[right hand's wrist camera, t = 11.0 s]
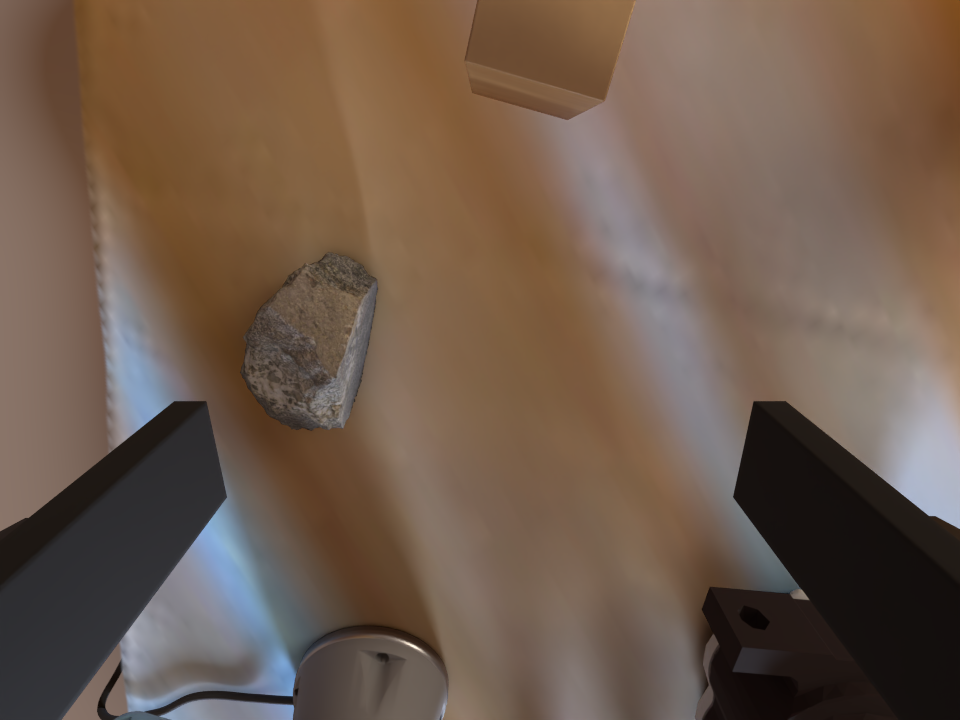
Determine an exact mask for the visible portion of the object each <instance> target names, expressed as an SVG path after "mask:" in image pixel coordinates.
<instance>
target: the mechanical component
mask: <svg viewBox="0 0 960 720" xmlns="http://www.w3.org/2000/svg"><path fill="white" fill-rule="evenodd" d="M702 611H703V613H704V615H705V617H706V619H707V621H708V623H709V625H710V627H711V629H712V631H713V633H714V634H713V635H712V637H711V638H710V640H709V641H708V643H707V644H706V648H705V653H704V659H703V666H704V669H705V673H706V676H707V680H708V683H709V686H708V687H707V689H706V691H705V692H704V694H703V695H702V697H701V699H700V700H699V702H698V706H697V710H696V715H695V719H696V720H898V718H897V717H896V716H895V714H894V713H893V712H892V710H891V709H890V708H889V706H888V705H887V704H886V702H885V701H884V700H883V698H882V697H881V696H880V694H879V693H878V691H877V690H876V689H875V687H874V686H873V685H872V683H871V682H870V681H869V679H868V678H867V677H866V675H865V674H864V673H863V671H862V670H861V669H860V667H859V666H858V665H857V663H856V662H855V661H854V659H853V658H852V657H851V655H850V654H849V652H848V651H847V650H846V648H845V647H844V646H843V644H842V643H841V642H840V640H839V639H838V638H837V636H836V635H835V634H834V632H833V631H832V630H831V628H830V627H829V626H828V624H827V623H826V622H825V620H824V619H823V617H822V616H821V615H820V613H819V612H818V611H817V609H816V608H815V607H814V605H813V604H812V603H811V601H810V600H809V599H808V597H807V596H806V595H805V593H804V592H803V591H802V590H800V589H797V590H794V591H791V593H790V594H784V593H773V592H762V591H751V590H740V589H729V588H718V587H710V588H709V591H708V594H707V596H706V599H705V602H704V605H703V608H702Z"/></svg>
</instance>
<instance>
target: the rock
mask: <svg viewBox="0 0 960 720" xmlns="http://www.w3.org/2000/svg"><path fill="white" fill-rule="evenodd" d="M377 290H378V288H377V280H376V278H374V277H372V276H370V275H368V274H367V272H366V271H365V269H364V267H363V266H362V265H361V264H359V263H357V262H355V261H353V260H352V259H351V258H349V257H347V256H338V254H333V253H330V252H328V253H327V254H325V256H324V257H323V258H322V260H320V261H319V262H316V263H314V264H311V265H308V264H307V263H305V264H304V265H303V267H302V268H299V269H298V270H297V271H294V272H293V273H292V274H291V275H289V276H288V278H287V280H286V281H285V283H284V285H283V287H282V288H280V289H279V290H278V291H277V293H276V294H274V295H273V296H272V297H271V298H270V299H269V300H268V301H267V302H266V303H264V304H263V305H262V306H261V307H260V309H259V310H258V312H257V314H256V317H255V320H254V323H253V324H252V325H251V326H250V328H249V329H248V331H247V332H246V334H245V335H244V337H243V338H244V340H245V341H246V343H247V344H246V345H247V346H246V349H245V358H244V363H243V365H242V367H241V372H240V373H241V374H242V378H244V379H245V382H246V384H247V387H248V389H249V390H250V391H251V392H252V394H253V395H254V397H255V398H256V400H257V401H258V402H259V403H260V404H261V405H262V407H263V408H264V409H265V411H266V413H267V414H268V415H269V416H270V417H272V418H274V419H276V420H279V421H280V422H281V424H283V425H284V424H285V425H288V426H289V427H291V429H296V430H298V429H301V428H305V429H308V430H310V431H312V430H313V429H314V428H318V427H321V428H323V429H327V430H329V429H331V428H342V429H343V428H344V425H345V422H346V420H347V419H348V418H349V416H350V411H351V408H352V405H353V402H355V399H354V398H355V396H357V392H358V388H359V386H360V383H361V381H362V380H361V377H362V374H363V373H362V371H363V367H364V362H365V356H366V354H367V348H368V345H369V344H368V343H369V338H370V332H371V328H372V320H373V316H374V314H373V313H374V310H375V304H376V303H375V302H376V294H377ZM335 377H336V379H335Z"/></svg>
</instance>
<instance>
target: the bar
mask: <svg viewBox="0 0 960 720" xmlns="http://www.w3.org/2000/svg"><path fill="white" fill-rule="evenodd" d="M635 2H636V0H478V1H477V5H476V10H475V14H474V19H473V24H472V28H471V33H470V38H469V42H468V47H467V52H466V56H465V64H466V68H467V72H468V77H469V81H470V85H471V89H472V93H475V94H478V95H482V96H485V97H489V98H492V99H496V100H499V101H503V102H506V103H510V104H513V105H517V106H520V107H524V108H527V109H531V110H534V111H538V112H541V113H545V114H548V115H552V116H555V117H559V118H562V119H566V120H569V119H571V118H573V117H575V116H577V115H579V114H581V113H583V112H585V111H587V110H589V109H591V108H593V107H595V106H597V105H598V104H600V103H602V102H604V101H605V99H606V95H607V92H608V89H609V86H610V83H611V79H612V76H613V73H614V70H615V66H616V63H617V60H618V57H619V53H620V50H621V47H622V44H623V40H624V37H625V34H626V31H627V28H628V24H629V21H630V18H631V15H632V11H633V8H634V5H635Z"/></svg>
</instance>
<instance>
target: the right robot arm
mask: <svg viewBox="0 0 960 720" xmlns="http://www.w3.org/2000/svg"><path fill="white" fill-rule="evenodd" d="M226 498H227V496H226V491H225V486H224V482H223V477H222V472H221V468H220V463H219V458H218V454H217V449H216V444H215V440H214V435H213V430H212V426H211V421H210V416H209V412H208V407H207V402H206V401H174V402H173V403H172V404H170V405H169V406H168V407H167V408H165V409H164V410H163V411H162V412H160V413H159V414H158V415H157V416H155V417H154V418H153V419H152V420H150V421H149V422H148V423H147V424H145V425H144V426H143V427H142V428H140V429H139V430H138V431H137V432H135V433H134V434H133V435H132V436H130V437H129V438H128V439H127V440H125V441H124V442H123V443H122V444H120V445H119V446H118V447H117V448H115V449H114V450H113V451H112V452H110V453H109V454H108V455H107V456H106V457H104V458H103V459H102V460H101V461H99V462H98V463H97V464H96V465H94V466H93V467H92V468H91V469H89V470H88V471H87V472H86V473H84V474H83V475H82V476H81V477H79V478H78V479H77V480H76V481H74V482H73V483H72V484H71V485H69V486H68V487H67V488H66V489H64V490H63V491H62V492H61V493H59V494H58V495H57V496H56V497H54V498H53V499H52V500H51V501H49V502H48V503H47V504H46V505H44V506H43V507H42V508H41V509H39V510H38V511H37V512H36V513H34V514H33V515H32V516H31V517H29V518H25V519H23V520H21V521H19V522H17V523H15V524H13V525H11V526H10V527H8V528H6V529H4V530H2V531H0V720H62V718H63V717H64V716H65V714H66V713H67V712H68V710H69V709H70V708H71V706H72V705H73V704H74V702H75V701H76V700H77V698H78V697H79V696H80V694H81V693H82V691H83V690H84V689H85V687H86V686H87V685H88V683H89V682H90V681H91V679H92V678H93V677H94V675H95V674H96V673H97V671H98V670H99V669H100V667H101V666H102V664H103V663H104V662H105V661H106V659H107V658H108V657H109V655H110V654H111V652H112V651H113V650H114V648H115V647H116V646H117V644H118V643H119V642H120V640H121V639H122V638H123V636H124V635H125V634H126V632H127V631H128V630H129V628H130V627H131V626H132V624H133V623H134V622H135V620H136V619H137V617H138V616H139V615H140V613H141V612H142V611H143V609H144V608H145V607H146V605H147V604H148V603H149V601H150V600H151V599H152V597H153V596H154V595H155V593H156V592H157V591H158V589H159V588H160V587H161V585H162V584H163V582H164V581H165V580H166V578H167V577H168V576H169V574H170V573H171V572H172V570H173V569H174V568H175V566H176V565H177V564H178V562H179V561H180V560H181V558H182V557H183V556H184V554H185V553H186V552H187V550H188V549H189V547H190V546H191V545H192V543H193V542H194V541H195V539H196V538H197V537H198V535H199V534H200V533H201V531H202V530H203V529H204V527H205V526H206V525H207V523H208V522H209V521H210V519H211V518H212V517H213V515H214V514H215V513H216V511H217V510H218V508H219V507H220V506H221V504H222V503H223V502H224V500H225V499H226ZM733 498H734V499H735V500H736V502H737V503H738V504H739V506H740V507H741V508H742V510H743V511H744V513H745V514H746V515H747V517H748V518H749V519H750V521H751V522H752V523H753V525H754V526H755V527H756V529H757V530H758V531H759V533H760V534H761V535H762V537H763V538H764V539H765V541H766V542H767V543H768V545H769V546H770V548H771V549H772V550H773V552H774V553H775V554H776V556H777V557H778V558H779V560H780V561H781V562H782V564H783V565H784V566H785V568H786V569H787V570H788V572H789V573H790V574H791V576H792V577H793V578H794V580H795V581H796V582H797V584H798V585H799V587H800V588H801V589H802V591H803V592H804V593H805V595H806V596H807V597H808V599H809V600H810V601H811V603H812V604H813V605H814V607H815V608H816V609H817V611H818V612H819V613H820V615H821V616H822V617H823V619H824V620H825V622H826V623H827V624H828V626H829V627H830V628H831V630H832V631H833V632H834V634H835V635H836V636H837V638H838V639H839V640H840V642H841V643H842V644H843V646H844V647H845V648H846V650H847V651H848V652H849V654H850V655H851V657H852V658H853V659H854V661H855V662H856V663H857V665H858V666H859V667H860V669H861V670H862V671H863V673H864V674H865V675H866V677H867V678H868V679H869V681H870V682H871V683H872V685H873V686H874V687H875V689H876V690H877V691H878V693H879V694H880V696H881V697H882V698H883V700H884V701H885V702H886V704H887V705H888V706H889V708H890V709H891V710H892V712H893V713H894V714H895V716H896V717H897V718H898V720H960V529H958V528H957V527H955V526H953V525H951V524H949V523H947V522H945V521H943V520H941V519H940V518H938V517H936V516H928V515H927V514H926V513H924V512H923V511H922V510H921V509H919V508H918V507H917V506H916V505H914V504H913V503H912V502H911V501H909V500H908V499H907V498H906V497H904V496H903V495H902V494H901V493H899V492H898V491H897V490H896V489H894V488H893V487H892V486H891V485H889V484H888V483H887V482H886V481H884V480H883V479H882V478H881V477H879V476H878V475H877V474H876V473H874V472H873V471H872V470H871V469H869V468H868V467H867V466H866V465H864V464H863V463H862V462H861V461H859V460H858V459H857V458H856V457H854V456H853V455H852V454H851V453H850V452H848V451H847V450H846V449H845V448H843V447H842V446H841V445H840V444H838V443H837V442H836V441H835V440H833V439H832V438H831V437H830V436H828V435H827V434H826V433H825V432H823V431H822V430H821V429H820V428H818V427H817V426H816V425H815V424H813V423H812V422H811V421H810V420H808V419H807V418H806V417H805V416H803V415H802V414H801V413H800V412H798V411H797V410H796V409H795V408H793V407H792V406H791V405H790V404H788V403H787V402H786V401H754V402H753V407H752V412H751V416H750V421H749V426H748V430H747V435H746V440H745V444H744V449H743V454H742V458H741V463H740V468H739V472H738V477H737V482H736V486H735V491H734V496H733ZM122 671H123V669H122V659H121V660H120V662H119V664H118V666H117V668H116V670H115V672H114V673H113V675H112V677H111V679H110V680H109V682H108V684H107V685H106V687H105V689H104V690H103V692H102V694H101V696H100V699H99V701H98V706H97V712H98V716H99V717H100V719H101V720H170V719H166V718H162V717H159V716H161V715H164V714H167V713H169V712H171V711H172V710H174V709H176V708H178V707H180V706H181V705H184V704H186V703H189V702H192V701H197V700H206V699H221V700H232V701H242V702H256V703H268V704H282V705H294V714H293V720H442V718H443V716H444V713H445V708H446V704H447V698H448V674H447V671H446V668H445V666H444V663H443V662H442V660H441V659H440V657H439V656H438V655H437V653H436V652H435V651H434V650H433V649H432V648H430V647H429V646H428V645H427V644H425V643H424V642H423V641H421V640H419V639H418V638H416V637H414V636H412V635H410V634H407V633H405V632H402V631H399V630H396V629H391V628H386V627H379V626H357V627H350V628H345V629H341V630H338V631H335V632H333V633H330V634H328V635H326V636H324V637H323V638H321V639H319V640H318V641H317V642H315V643H314V644H313V645H312V646H311V647H310V648H309V649H308V650H307V652H306V653H305V655H304V656H303V658H302V661H301V663H300V666H299V669H298V672H297V674H296V678H295V684H294V689H293V696H275V695H263V694H248V693H237V692H227V691H203V692H197V693H192V694H189V695H186V696H184V697H182V698H180V699H178V700H176V701H174V702H173V703H171V704H169V705H167V706H164V707H162V708H159V709H154V710H150V711H145V712H141V711H134V712H129V713H125V714H123V715H121V716H113V715H110V714H109V713H108V712H107V710H106V707H105V704H106V701H107V698H108V696H109V694H110V692H111V690H112V688H113V687H114V685H115V683H116V681H117V680H118V678H119V676H120V674H121V673H122Z"/></svg>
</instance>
